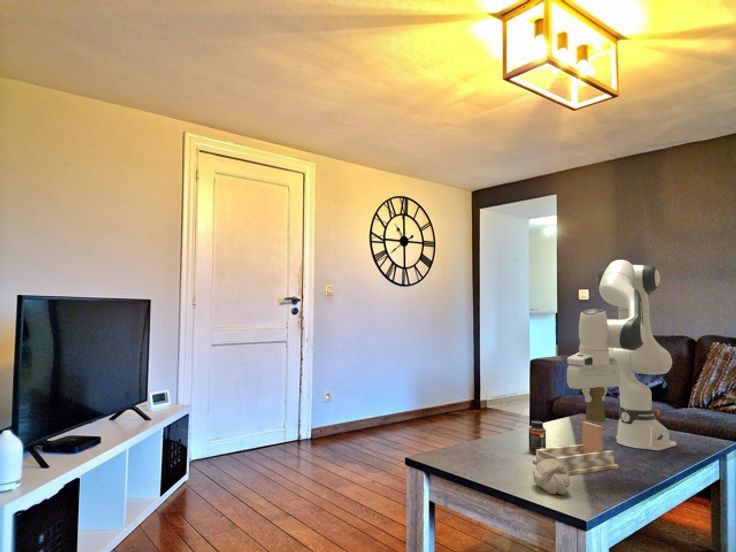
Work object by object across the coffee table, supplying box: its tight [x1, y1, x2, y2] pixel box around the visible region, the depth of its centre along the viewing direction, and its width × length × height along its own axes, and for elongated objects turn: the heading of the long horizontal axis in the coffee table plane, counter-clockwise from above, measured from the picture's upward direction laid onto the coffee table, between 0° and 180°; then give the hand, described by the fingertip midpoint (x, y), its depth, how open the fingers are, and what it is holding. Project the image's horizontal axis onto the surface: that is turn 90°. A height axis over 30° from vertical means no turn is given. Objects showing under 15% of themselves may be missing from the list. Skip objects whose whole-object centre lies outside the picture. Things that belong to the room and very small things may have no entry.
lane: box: [532, 443, 619, 476], centre depth 163 cm, size 24×14×5 cm, turn 112°
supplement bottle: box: [528, 420, 547, 455], centre depth 177 cm, size 6×6×11 cm
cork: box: [584, 387, 607, 423], centre depth 155 cm, size 6×6×11 cm
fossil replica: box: [532, 459, 571, 495], centre depth 140 cm, size 12×8×10 cm
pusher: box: [581, 421, 604, 454], centre depth 166 cm, size 2×7×12 cm, turn 22°
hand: (594, 401), depth 155 cm, fingers closed on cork, 4 cm apart
